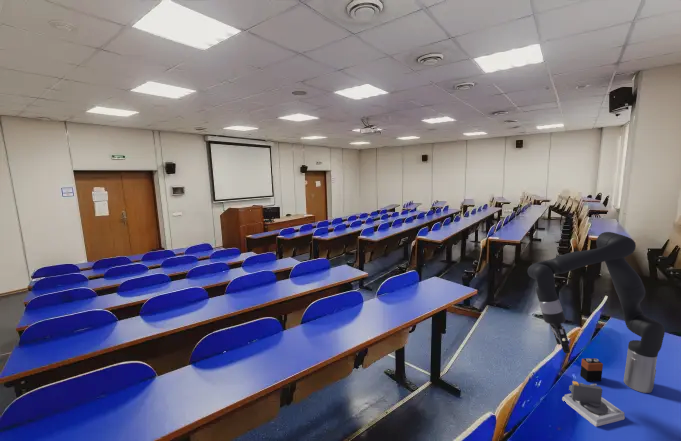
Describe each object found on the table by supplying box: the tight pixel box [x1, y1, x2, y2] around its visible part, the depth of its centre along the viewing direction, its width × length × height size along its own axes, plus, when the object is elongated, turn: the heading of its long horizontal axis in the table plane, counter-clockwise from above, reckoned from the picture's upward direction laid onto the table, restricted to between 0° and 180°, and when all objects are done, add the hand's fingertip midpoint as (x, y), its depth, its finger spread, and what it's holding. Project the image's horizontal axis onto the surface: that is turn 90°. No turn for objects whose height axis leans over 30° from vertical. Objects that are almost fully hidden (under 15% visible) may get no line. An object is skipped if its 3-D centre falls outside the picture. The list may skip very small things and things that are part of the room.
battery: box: [579, 357, 604, 382], centre depth 139 cm, size 4×7×10 cm, turn 89°
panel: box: [561, 392, 625, 427], centre depth 122 cm, size 14×14×3 cm
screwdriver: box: [568, 382, 598, 393], centre depth 133 cm, size 14×3×3 cm, turn 103°
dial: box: [571, 380, 608, 415], centre depth 122 cm, size 12×9×9 cm
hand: (563, 348), depth 125 cm, fingers open, 8 cm apart
